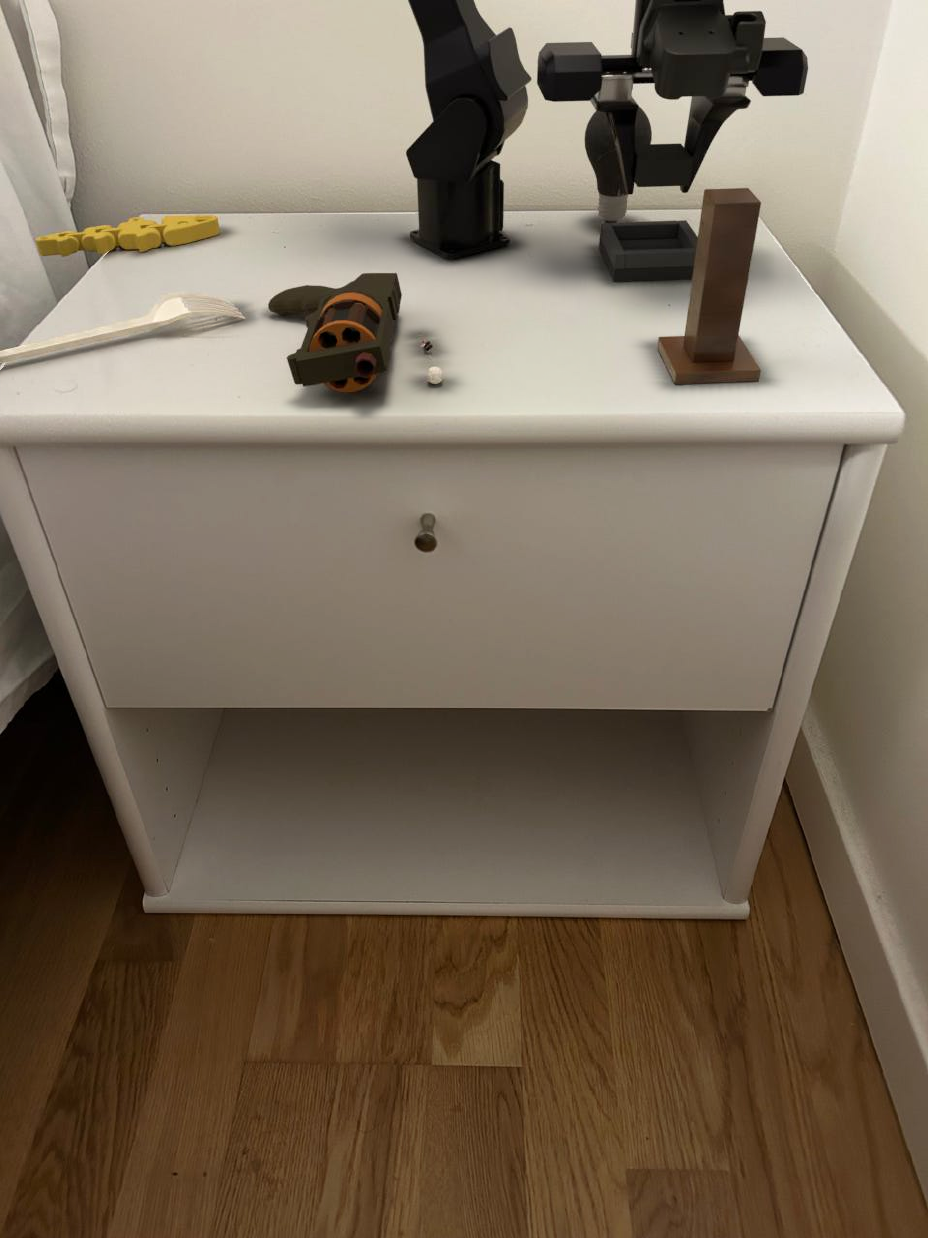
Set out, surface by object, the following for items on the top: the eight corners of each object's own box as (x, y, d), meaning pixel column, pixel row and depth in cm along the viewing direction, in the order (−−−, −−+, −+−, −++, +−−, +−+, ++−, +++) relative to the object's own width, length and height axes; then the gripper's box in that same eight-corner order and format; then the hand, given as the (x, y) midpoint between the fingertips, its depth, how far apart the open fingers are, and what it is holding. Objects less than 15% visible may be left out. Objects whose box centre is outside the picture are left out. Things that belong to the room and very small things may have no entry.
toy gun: (215, 357, 61) (375, 327, 60) (263, 267, 75) (394, 241, 74) (239, 426, 64) (393, 399, 63) (282, 327, 78) (408, 303, 77)
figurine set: (447, 379, 66) (433, 389, 66) (432, 333, 72) (419, 342, 73) (436, 364, 65) (422, 375, 66) (421, 319, 72) (409, 328, 72)
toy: (41, 242, 88) (39, 262, 84) (36, 226, 87) (34, 246, 83) (217, 224, 91) (223, 243, 87) (215, 208, 90) (220, 227, 86)
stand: (674, 384, 66) (697, 211, 59) (657, 347, 70) (676, 182, 63) (759, 381, 66) (792, 208, 59) (736, 344, 71) (764, 179, 64)
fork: (-44, 371, 66) (-34, 395, 68) (244, 298, 73) (247, 321, 75) (-54, 348, 68) (-44, 372, 70) (228, 279, 75) (232, 302, 77)
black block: (627, 171, 80) (630, 144, 78) (677, 170, 80) (681, 142, 78) (637, 187, 77) (640, 159, 75) (689, 185, 77) (693, 157, 75)
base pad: (613, 281, 80) (615, 253, 78) (598, 249, 85) (600, 222, 84) (703, 278, 80) (707, 250, 78) (683, 246, 85) (686, 219, 84)
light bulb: (653, 229, 88) (667, 104, 82) (594, 237, 87) (603, 111, 81) (626, 209, 93) (637, 89, 86) (569, 216, 91) (576, 95, 85)
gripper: (561, -26, 62) (550, 231, 72) (858, -32, 63) (806, 223, 73) (540, -50, 71) (532, 183, 81) (802, -55, 72) (762, 176, 82)
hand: (656, 192), depth 79 cm, fingers closed on black block, 4 cm apart
